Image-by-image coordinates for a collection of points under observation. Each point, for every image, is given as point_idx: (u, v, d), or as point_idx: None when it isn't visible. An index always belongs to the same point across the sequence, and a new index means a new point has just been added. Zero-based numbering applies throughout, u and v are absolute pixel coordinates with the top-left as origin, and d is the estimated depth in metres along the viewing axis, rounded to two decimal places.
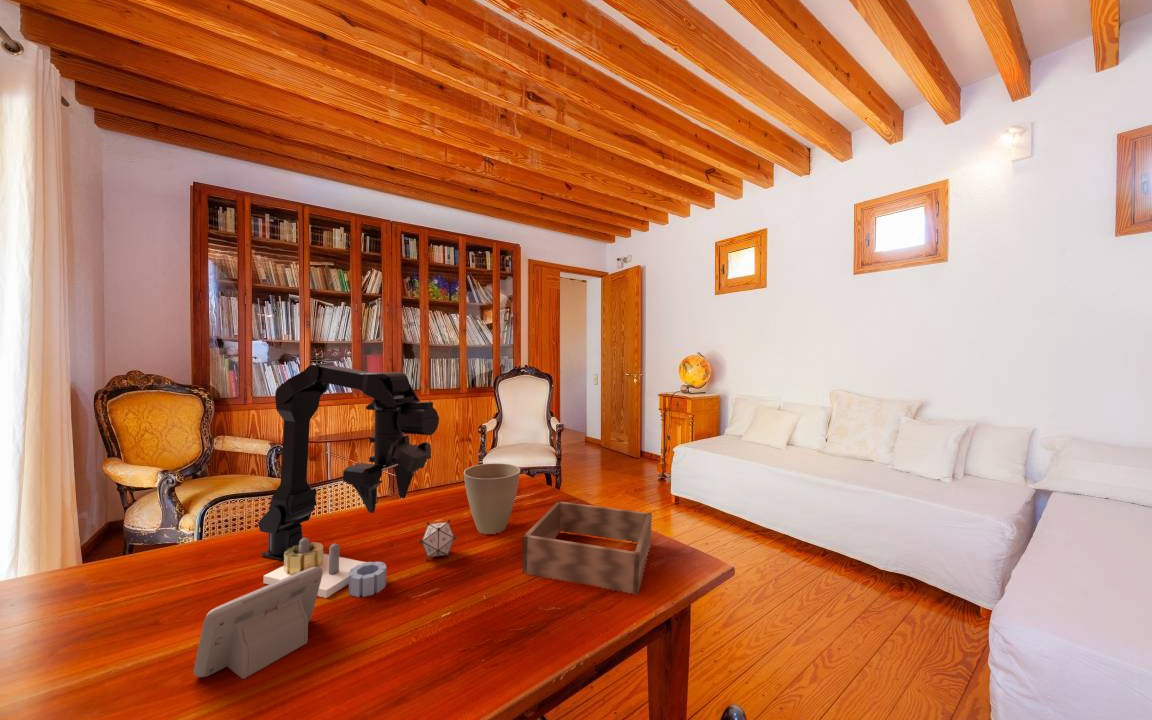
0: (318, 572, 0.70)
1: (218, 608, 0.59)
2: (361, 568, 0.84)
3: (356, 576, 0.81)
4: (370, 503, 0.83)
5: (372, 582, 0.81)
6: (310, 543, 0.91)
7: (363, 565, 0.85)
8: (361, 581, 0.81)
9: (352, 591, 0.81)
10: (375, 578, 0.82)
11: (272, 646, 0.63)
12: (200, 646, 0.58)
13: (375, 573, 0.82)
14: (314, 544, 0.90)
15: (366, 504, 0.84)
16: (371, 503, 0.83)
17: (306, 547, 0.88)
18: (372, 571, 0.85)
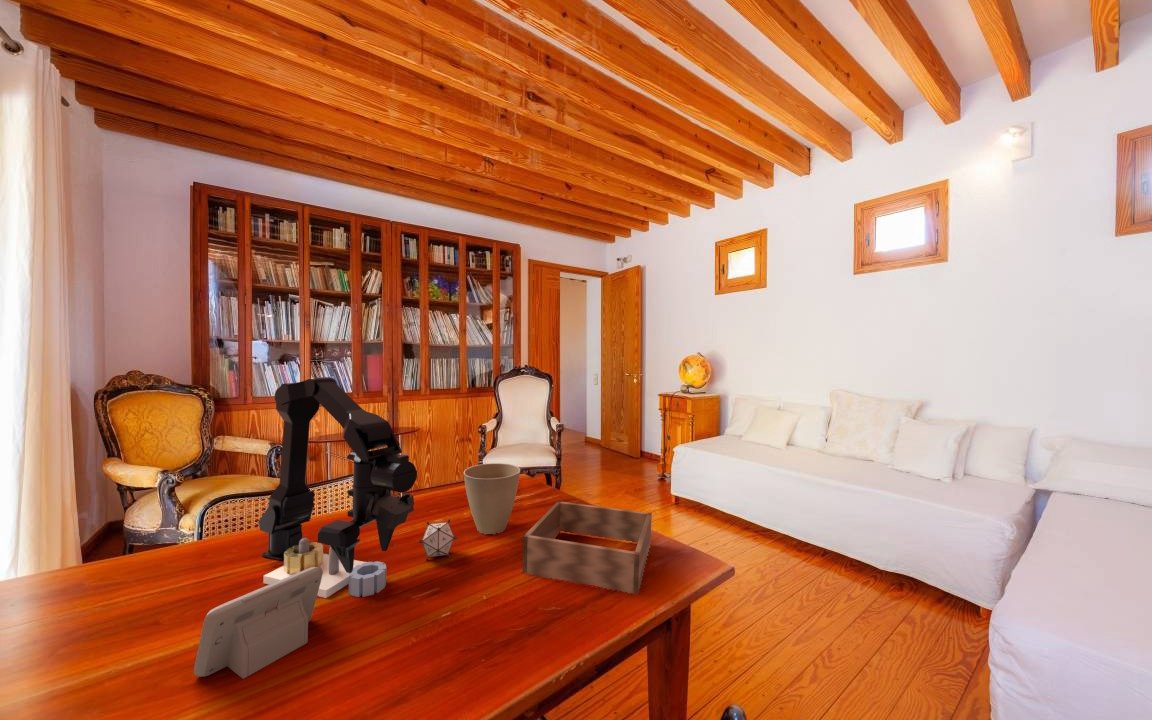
0: (318, 572, 0.70)
1: (218, 608, 0.59)
2: (361, 568, 0.84)
3: (356, 576, 0.81)
4: (347, 563, 0.78)
5: (372, 582, 0.81)
6: (310, 543, 0.91)
7: (363, 565, 0.85)
8: (361, 581, 0.81)
9: (352, 591, 0.81)
10: (375, 578, 0.82)
11: (272, 646, 0.63)
12: (200, 646, 0.58)
13: (375, 573, 0.82)
14: (314, 544, 0.90)
15: (343, 564, 0.79)
16: (348, 563, 0.78)
17: (306, 547, 0.88)
18: (372, 571, 0.85)
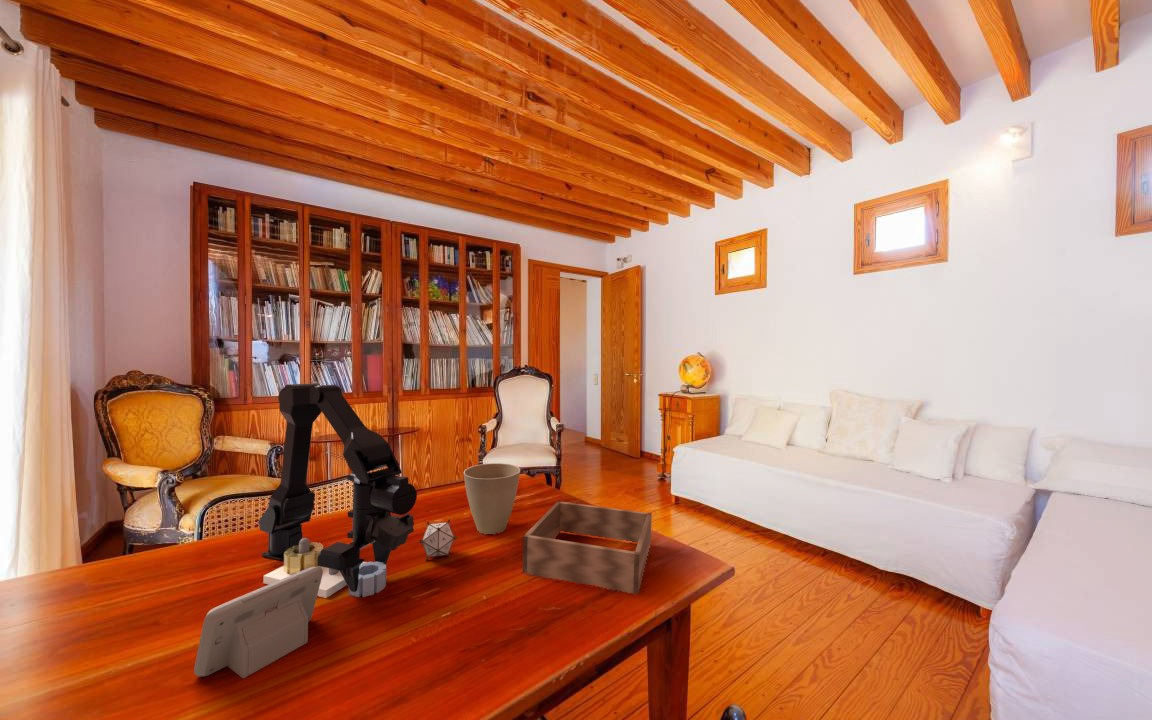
0: (318, 572, 0.70)
1: (218, 608, 0.59)
2: (361, 568, 0.84)
3: None
4: (352, 582, 0.79)
5: (372, 582, 0.81)
6: (310, 543, 0.91)
7: (363, 565, 0.85)
8: (361, 581, 0.81)
9: None
10: (375, 578, 0.82)
11: (272, 645, 0.63)
12: (200, 645, 0.58)
13: (375, 573, 0.82)
14: (314, 544, 0.90)
15: (348, 583, 0.80)
16: (353, 582, 0.79)
17: (306, 547, 0.88)
18: (372, 571, 0.85)
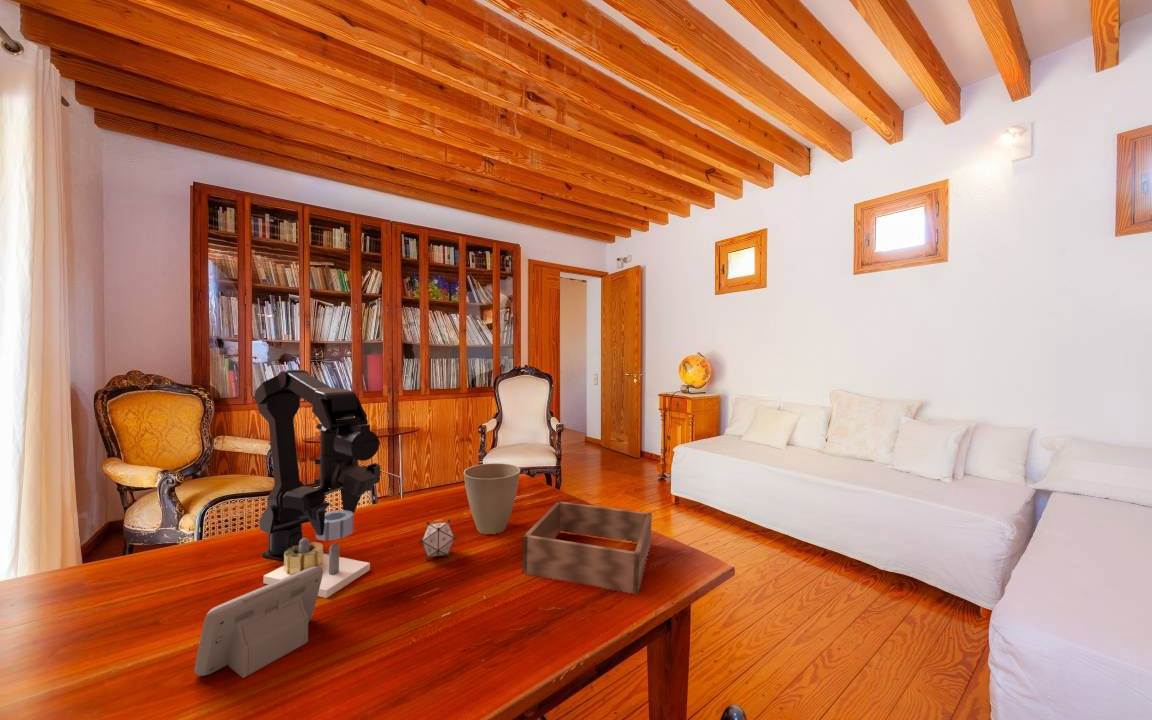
0: (318, 572, 0.70)
1: (219, 607, 0.59)
2: (329, 515, 0.87)
3: None
4: (318, 526, 0.82)
5: (338, 527, 0.83)
6: (310, 543, 0.91)
7: (331, 512, 0.87)
8: (327, 525, 0.83)
9: (318, 535, 0.83)
10: (341, 523, 0.84)
11: (272, 645, 0.63)
12: (201, 645, 0.59)
13: (342, 519, 0.85)
14: (314, 544, 0.90)
15: (314, 526, 0.82)
16: (319, 526, 0.81)
17: (306, 547, 0.88)
18: (340, 519, 0.88)
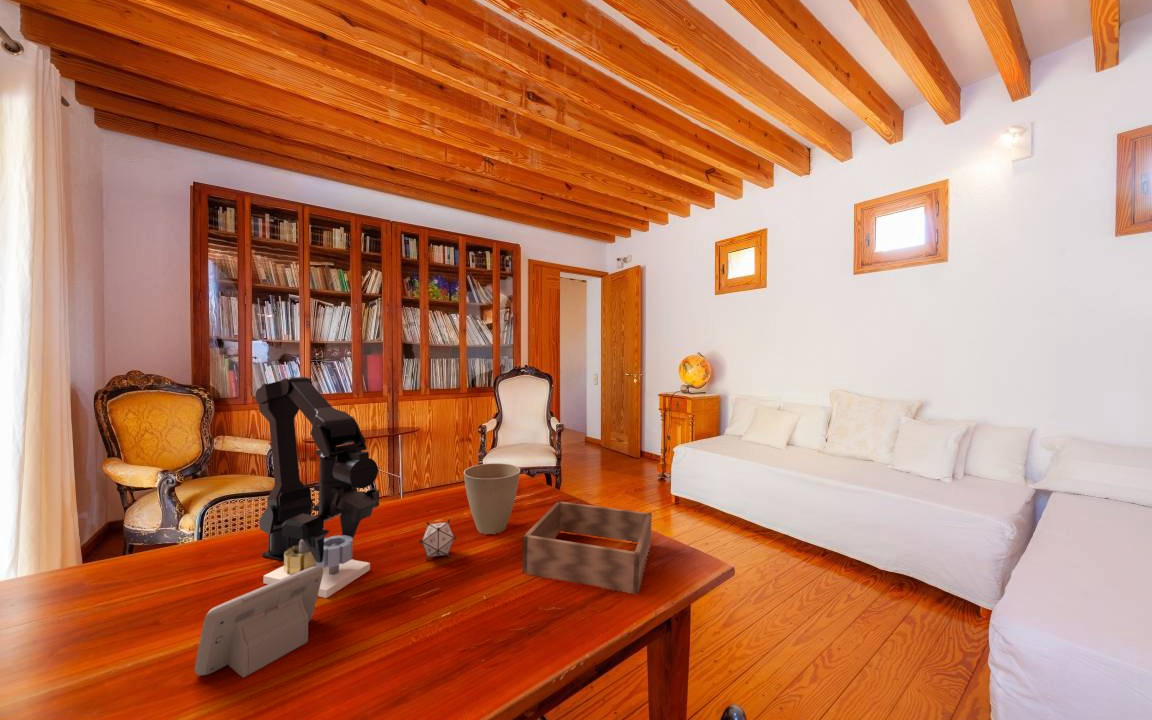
0: (318, 571, 0.70)
1: (218, 607, 0.59)
2: (328, 541, 0.87)
3: None
4: (317, 553, 0.82)
5: (337, 553, 0.83)
6: None
7: (330, 538, 0.88)
8: (327, 552, 0.83)
9: None
10: (341, 550, 0.84)
11: (272, 645, 0.63)
12: (201, 644, 0.59)
13: (341, 545, 0.85)
14: None
15: (313, 554, 0.82)
16: (318, 553, 0.82)
17: (306, 547, 0.88)
18: (339, 544, 0.88)
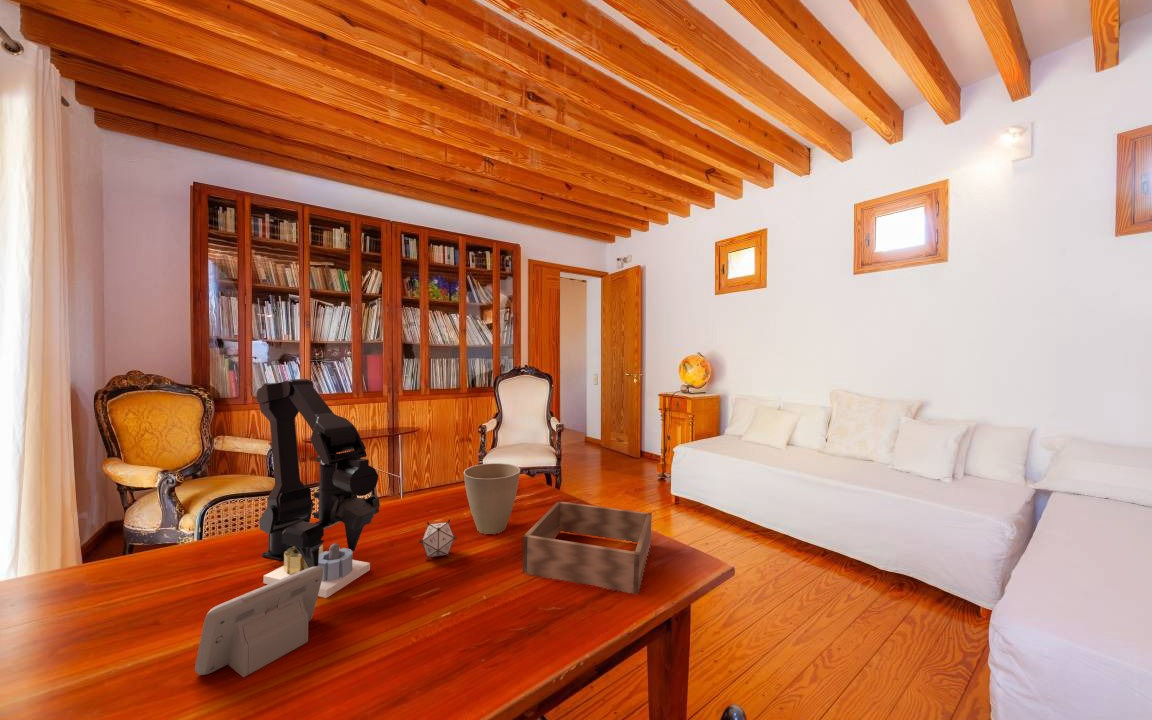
0: (319, 571, 0.70)
1: (219, 607, 0.59)
2: (328, 554, 0.87)
3: (321, 561, 0.83)
4: (312, 563, 0.81)
5: (337, 567, 0.83)
6: None
7: None
8: (326, 566, 0.83)
9: None
10: (340, 563, 0.84)
11: (272, 644, 0.63)
12: (201, 644, 0.59)
13: (341, 558, 0.85)
14: None
15: (308, 564, 0.81)
16: (313, 563, 0.80)
17: None
18: (339, 557, 0.88)
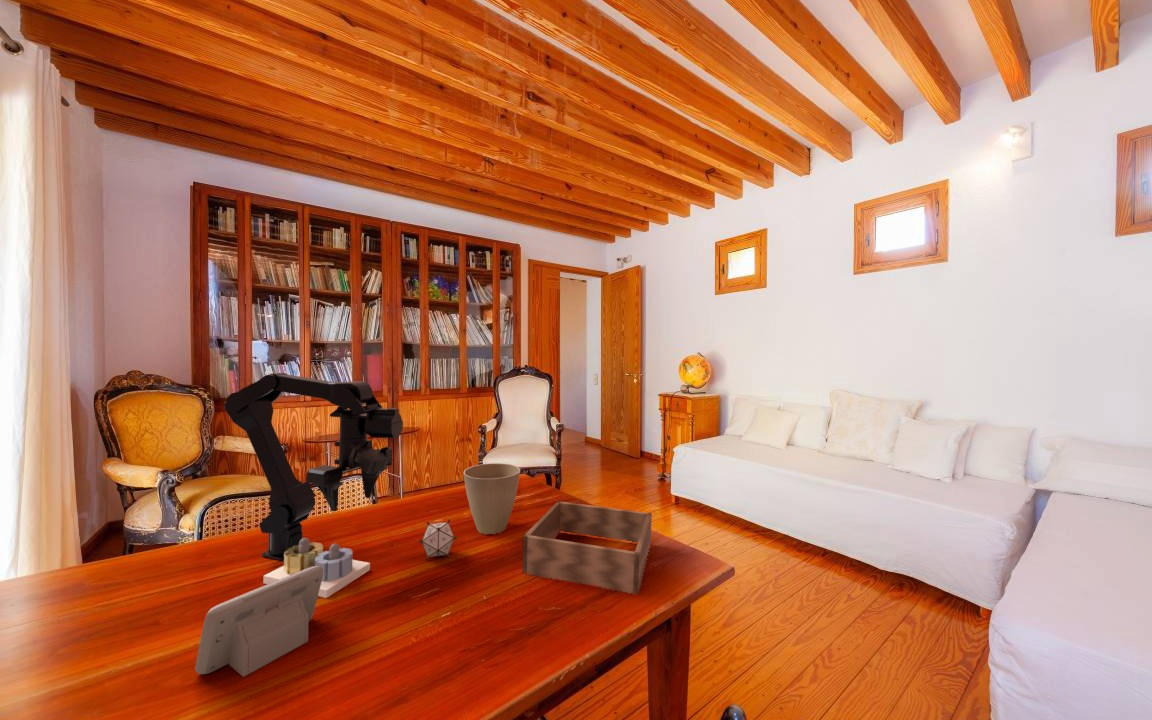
0: (319, 571, 0.70)
1: (219, 606, 0.59)
2: (328, 554, 0.87)
3: (321, 561, 0.83)
4: (332, 502, 0.91)
5: (337, 567, 0.83)
6: (310, 543, 0.91)
7: None
8: (326, 566, 0.83)
9: None
10: (340, 563, 0.84)
11: (272, 644, 0.63)
12: (201, 643, 0.59)
13: (341, 558, 0.85)
14: (314, 544, 0.90)
15: (329, 503, 0.91)
16: (333, 502, 0.91)
17: (306, 547, 0.88)
18: (339, 557, 0.88)
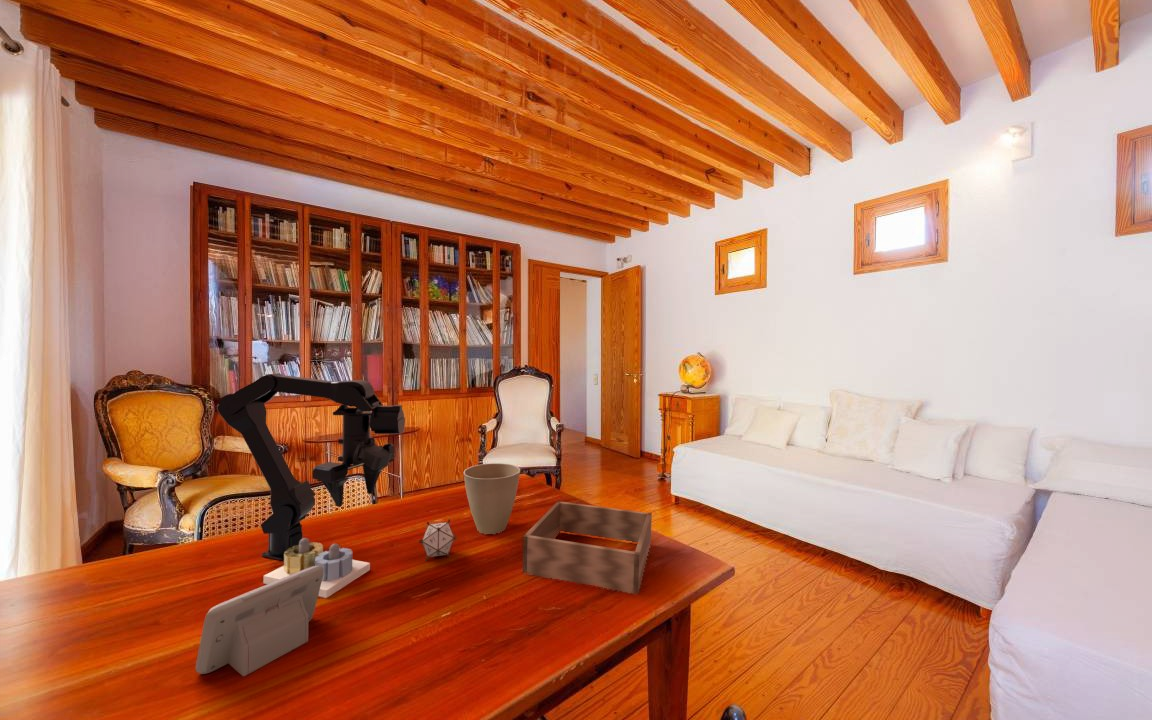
0: (319, 571, 0.71)
1: (219, 606, 0.59)
2: (328, 554, 0.87)
3: (321, 561, 0.83)
4: (337, 498, 0.93)
5: (337, 567, 0.83)
6: (310, 543, 0.91)
7: None
8: (326, 566, 0.83)
9: None
10: (340, 563, 0.84)
11: (272, 644, 0.63)
12: (201, 643, 0.59)
13: (341, 558, 0.85)
14: (314, 544, 0.90)
15: (334, 499, 0.94)
16: (338, 498, 0.93)
17: (306, 547, 0.88)
18: (339, 557, 0.88)
